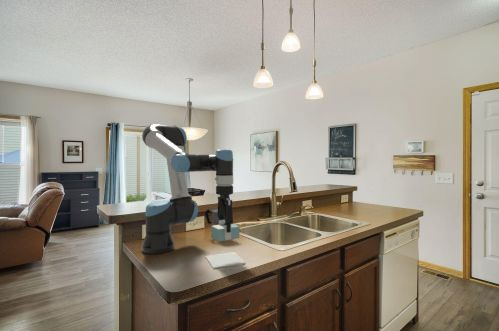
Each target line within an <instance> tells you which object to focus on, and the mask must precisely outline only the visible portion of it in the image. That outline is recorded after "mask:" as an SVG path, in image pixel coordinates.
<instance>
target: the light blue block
mask: <svg viewBox="0 0 499 331" xmlns="http://www.w3.org/2000/svg"><path fill="white" fill-rule="evenodd" d="M210 228H211V229H210V230H211V231H210V232H211V234H210V235H211V237H210V238H212V239H213V240H215V241H216V242H218V243H220V242H224V241H226V242H227V240H225V227H224V224H222V225H214V224H213V225H211V226H210ZM236 239H240V225H237V224H234V223H233V224H231V240H236Z"/></svg>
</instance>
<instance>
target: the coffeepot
mask: <svg viewBox="0 0 499 331" xmlns="http://www.w3.org/2000/svg"><path fill="white" fill-rule="evenodd" d="M217 212H218V208H217V209H209V208H208V209H206V211H205V212H204V216H205V218H206V221H207V224H210V225H211V224H212V221H213V225H219V219H218V217H217ZM209 214H211V215H212V221H210V216H209ZM223 220H225V219H223Z"/></svg>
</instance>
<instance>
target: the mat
mask: <svg viewBox="0 0 499 331" xmlns="http://www.w3.org/2000/svg"><path fill="white" fill-rule="evenodd" d="M205 259H206V260H207V262H208V263H209V266H210V267H211V268H212V269H213V270H216V269H221V268H229V267H234V266H235V267H236V266H240V265H241V266H242V265H246V261H244V260H243V258H241V257H240V255H238V254H237V253H236V252H235V251H233V252H232V251H231V252H224V253H218V254H209V255H205Z"/></svg>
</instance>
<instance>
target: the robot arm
mask: <svg viewBox="0 0 499 331" xmlns="http://www.w3.org/2000/svg"><path fill="white" fill-rule="evenodd" d="M141 137H142V139H141V140H142V141H143V143H144V144H145V145H146V146H147V147H148V148H150V149H154V150H155V151H157V153H159V154H160V155H161V156H163V157H164V158H165V159H166V165H167V172H168V179H169V185H170V192H171V198H169V200H168V199H165V200H164V199H163V200H156V201H153V202H150V203H148V204H147V205H145V206H146V207H145V212H144V216H145V236H144V240H143V242H142V245H141V252H142V253H144V254H147V255H158V254H159V255H160V254H164V253H169V252H170V251H172V250H174V249H175V242H174V238H173V236H172V232H171V226H177V225H181V224H187V223H190V222H193V221H195V220H196V219H197V216H198V214H199V206H198V203H197V201H196V200H195V199H193V196H192V195H191V194H190V193H189V190H188V184H187V178H186V173H191V172H192V173H193V172H215V177H214V181H215V185H216V186H215V194H216V195H217V209H218V212H217V217H218V219H219V225H222V224H224V227H225V240H226V241H231V240H232V239H231V224H234V217H233V216H234V215H233V200H232V199H231V198H230V195H233V194H234V186H233V185H234V153H233V150H231V149H216V150H215V154H195V153H194V154H190V153H188V152H186V151H185V150H184V149H185V148H184V147H186V144H187V140H188V139H187V138H188V137H187V132H186V131H185V130H184V128H183V127H181V126H177V125H169V124H168V125H166V124H159V123H157V124H155V123H154V124H151V125H148V126H147V127H145V128H144V130H143V132H142V135H141ZM223 219H225V220H223Z"/></svg>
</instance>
